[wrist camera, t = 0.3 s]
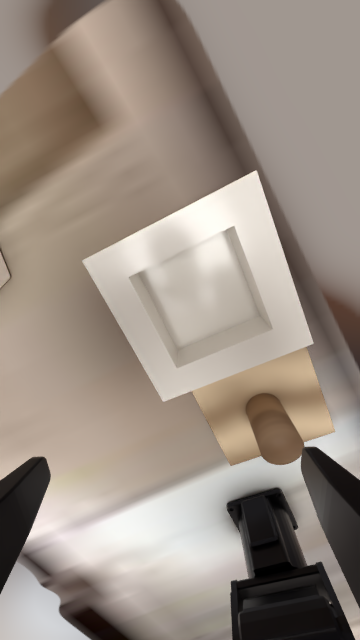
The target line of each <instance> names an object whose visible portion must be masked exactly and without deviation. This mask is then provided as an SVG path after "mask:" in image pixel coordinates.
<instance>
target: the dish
mask: <svg viewBox="0 0 360 640" xmlns="http://www.w3.org/2000/svg"><path fill="white" fill-rule="evenodd" d="M82 262H83V263H84V265H85V267H86V269H87V270H88V272H89V274H90V275H91V277H92V279H93V281H94V282H95V284H96V286H97V288H98V289H99V291H100V293H101V295H102V296H103V298H104V300H105V302H106V303H107V305H108V307H109V308H110V310H111V312H112V314H113V315H114V317H115V319H116V321H117V322H118V324H119V326H120V328H121V329H122V331H123V333H124V335H125V336H126V338H127V340H128V341H129V343H130V345H131V347H132V348H133V350H134V352H135V354H136V355H137V357H138V359H139V361H140V362H141V364H142V366H143V368H144V369H145V371H146V373H147V375H148V376H149V378H150V380H151V381H152V383H153V385H154V387H155V388H156V390H157V392H158V394H159V395H160V397H161V399H162V401H163V402H164V401H167V400H170V399H172V398H175V397H177V396H180V395H183V394H185V393H188V392H190V391H193V390H195V389H198V388H201V387H203V386H206V385H208V384H211V383H214V382H216V381H219V380H221V379H224V378H227V377H229V376H232V375H234V374H237V373H239V372H242V371H245V370H247V369H250V368H252V367H255V366H258V365H260V364H263V363H265V362H268V361H270V360H273V359H276V358H278V357H281V356H283V355H286V354H289V353H291V352H294V351H296V350H299V349H301V348H304V347H307V346H309V345H312V344H314V343H313V340H312V337H311V334H310V331H309V328H308V325H307V322H306V319H305V316H304V313H303V310H302V307H301V304H300V301H299V298H298V295H297V292H296V289H295V286H294V283H293V280H292V277H291V274H290V271H289V267H288V264H287V261H286V258H285V255H284V252H283V249H282V246H281V243H280V240H279V237H278V234H277V231H276V228H275V225H274V222H273V219H272V216H271V213H270V210H269V207H268V204H267V201H266V198H265V195H264V192H263V189H262V186H261V183H260V180H259V176H258V173H257V170H256V171H254V172H252V173H250V174H248V175H246V176H244V177H242V178H240V179H239V180H237V181H235V182H233V183H231V184H229V185H227V186H225V187H223V188H221V189H219V190H217V191H215V192H213V193H211V194H210V195H208V196H206V197H204V198H202V199H200V200H198V201H196V202H194V203H192V204H190V205H188V206H186V207H184V208H183V209H181V210H179V211H177V212H175V213H173V214H171V215H169V216H167V217H165V218H163V219H161V220H159V221H157V222H155V223H154V224H152V225H150V226H148V227H146V228H144V229H142V230H140V231H138V232H136V233H134V234H132V235H130V236H128V237H127V238H125V239H123V240H121V241H119V242H117V243H115V244H113V245H111V246H109V247H107V248H105V249H103V250H101V251H99V252H98V253H96V254H94V255H92V256H90V257H88V258H86V259H84V260H82Z"/></svg>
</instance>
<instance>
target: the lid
mask: <svg viewBox="0 0 360 640" xmlns="http://www.w3.org/2000/svg"><path fill="white" fill-rule="evenodd" d="M192 393H193V395H194V397H195V399H196V401H197V403H198V405H199V406H200V408H201V410H202V412H203V414H204V416H205V418H206V420H207V422H208V424H209V425H210V427H211V429H212V431H213V433H214V435H215V437H216V439H217V441H218V443H219V444H220V446H221V448H222V450H223V452H224V454H225V456H226V458H227V460H228V462H229V463H230V465H231V466H232V465H235V464H238V463H241V462H244V461H247V460H250V459H253V458H256V457H259V456H262V457H263V458H264V459H265V460H266V461H267V462H269V463H271V464H275V465H284V464H289V463H291V462H293V461H295V460H297V459H298V458H299V457H300V456H301V454H302V449H303V448H304V442H305V441H309V440H312V439H315V438H318V437H321V436H324V435H327V434H330V433H333V432H335V429H334V426H333V423H332V421H331V418H330V415H329V412H328V409H327V406H326V403H325V400H324V397H323V394H322V391H321V388H320V385H319V382H318V379H317V377H316V374H315V371H314V368H313V365H312V362H311V359H310V356H309V353H308V350H307V347H304V348H301V349H299V350H296V351H294V352H291V353H289V354H286V355H283V356H281V357H278V358H276V359H273V360H270V361H268V362H265V363H263V364H260V365H258V366H255V367H252V368H250V369H247V370H245V371H242V372H239V373H237V374H234V375H232V376H229V377H227V378H224V379H221V380H219V381H216V382H214V383H211V384H208V385H206V386H203V387H201V388H198V389H195V390H193V391H192Z"/></svg>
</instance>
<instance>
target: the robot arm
mask: <svg viewBox="0 0 360 640" xmlns="http://www.w3.org/2000/svg"><path fill="white" fill-rule="evenodd" d="M301 471H302V475H303V477H304V480H305V483H306V486H307V488H308V491H309V494H310V496H311V499H312V502H313V505H314V507H315V510H316V513H317V516H318V518H319V521H320V524H321V526H322V528H323V531H324V533H325V535H326V537H327V540H328V542H329V544H330V546H331V548H332V550H333V552H334V555H335V557H336V559H337V561H338V563H339V565H340V567H341V569H342V572H343V574H344V576H345V578H346V580H347V582H348V584H349V587H350V589H351V591H352V593H353V595H354V597H355V599H356V602H357V604H358V606H359V608H360V480H359V479H358V478H356V477H355V476H354V475H352V474H351V473H350V472H348V471H347V470H346V469H344V468H343V467H342V466H341V465H339V464H338V463H337V462H335V461H334V460H333V459H331V458H330V457H329V456H327V455H326V454H325V453H324V452H322V451H321V450H320V449H318V448H317V447H304V448H303V449H302V457H301ZM50 477H51V474H50V470H49V467H48V464H47V460H46V458H45V457H32V458H31V459H29V460H28V461H26V462H25V463H24V464H22V465H21V466H20V467H18V468H17V469H15V470H14V471H13V472H11V473H10V474H9V475H7V476H6V477H5V478H3V479H2V480H0V594H1V591H2V589H3V587H4V585H5V583H6V581H7V579H8V577H9V575H10V573H11V571H12V569H13V567H14V564H15V562H16V560H17V558H18V556H19V554H20V552H21V550H22V548H23V546H24V544H25V542H26V539H27V537H28V535H29V533H30V531H31V528H32V526H33V523H34V521H35V518H36V516H37V513H38V510H39V508H40V505H41V503H42V500H43V498H44V495H45V492H46V490H47V487H48V485H49V482H50ZM227 511H228V513H229V514H230V516H231V518H232V519H233V521H234V523H235V525H236V526H237V528H238V530H239V532H240V534H241V539H242V545H243V550H244V556H245V561H246V566H247V572H248V577H249V579H245V580H240V581H237V580H233V581H231V593H230V595H231V616H232V637H233V640H355V638H354V636H353V633H352V631H351V629H350V626H349V624H348V622H347V619H346V617H345V615H344V612H343V610H342V608H341V605H340V603H339V601H338V599H337V596H336V594H335V592H334V589H333V587H332V585H331V582H330V580H329V578H328V576H327V573H326V571H325V569H324V566H323V564H322V562H317V563H316V564H315V565H310V566H307V564H306V561H305V558H304V555H303V553H302V550H301V547H300V545H299V542H298V539H297V537H296V534H295V531H294V530H296V529H297V528H298V526H297V523H296V521H295V519H294V516H293V514H292V512H291V510H290V508H289V506H288V503H287V501H286V499H285V497H284V495H283V493H282V491H281V490H280V489H274V490H271V491H268V492H264V493H261V494H258V495H254V496H251V497H248V498H245V499H241V500H238V501H235V502H231V503H228V504H227ZM329 602H331V604H330V603H329Z"/></svg>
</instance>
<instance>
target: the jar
mask: <svg viewBox="0 0 360 640" xmlns="http://www.w3.org/2000/svg"><path fill="white" fill-rule="evenodd" d="M9 278H10V274H9V272H8V269H7V267H6V264H5V262H4V259H3V257H2V254H1V252H0V288H1V287H2V286H3V285H4V284H5V283H6V282H7V281H8V280H9Z"/></svg>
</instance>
